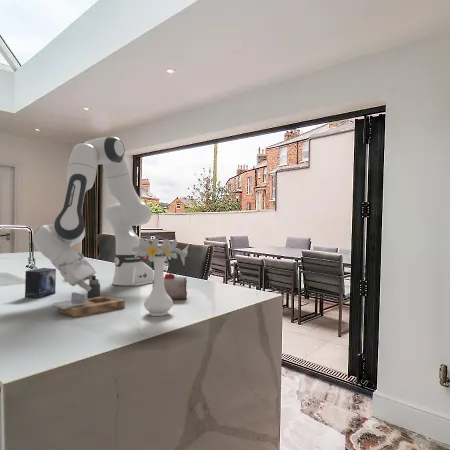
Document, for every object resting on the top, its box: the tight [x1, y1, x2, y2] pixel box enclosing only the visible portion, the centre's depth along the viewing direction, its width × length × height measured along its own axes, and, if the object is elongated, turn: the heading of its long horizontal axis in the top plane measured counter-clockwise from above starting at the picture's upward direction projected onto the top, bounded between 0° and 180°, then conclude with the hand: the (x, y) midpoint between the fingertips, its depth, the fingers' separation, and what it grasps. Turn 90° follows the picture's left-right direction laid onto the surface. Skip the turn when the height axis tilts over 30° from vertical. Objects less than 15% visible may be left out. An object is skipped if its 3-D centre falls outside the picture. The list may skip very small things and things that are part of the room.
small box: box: [24, 267, 57, 299], centre depth 146 cm, size 11×6×10 cm, turn 168°
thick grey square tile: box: [52, 291, 85, 309], centre depth 118 cm, size 7×7×3 cm
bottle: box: [86, 275, 101, 299], centre depth 137 cm, size 4×4×10 cm
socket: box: [57, 295, 126, 319], centre depth 124 cm, size 18×12×3 cm, turn 138°
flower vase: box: [132, 237, 190, 317], centre depth 119 cm, size 13×18×25 cm
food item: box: [151, 272, 188, 301], centre depth 143 cm, size 14×8×10 cm, turn 97°
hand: (94, 287), depth 137 cm, fingers open, 8 cm apart
